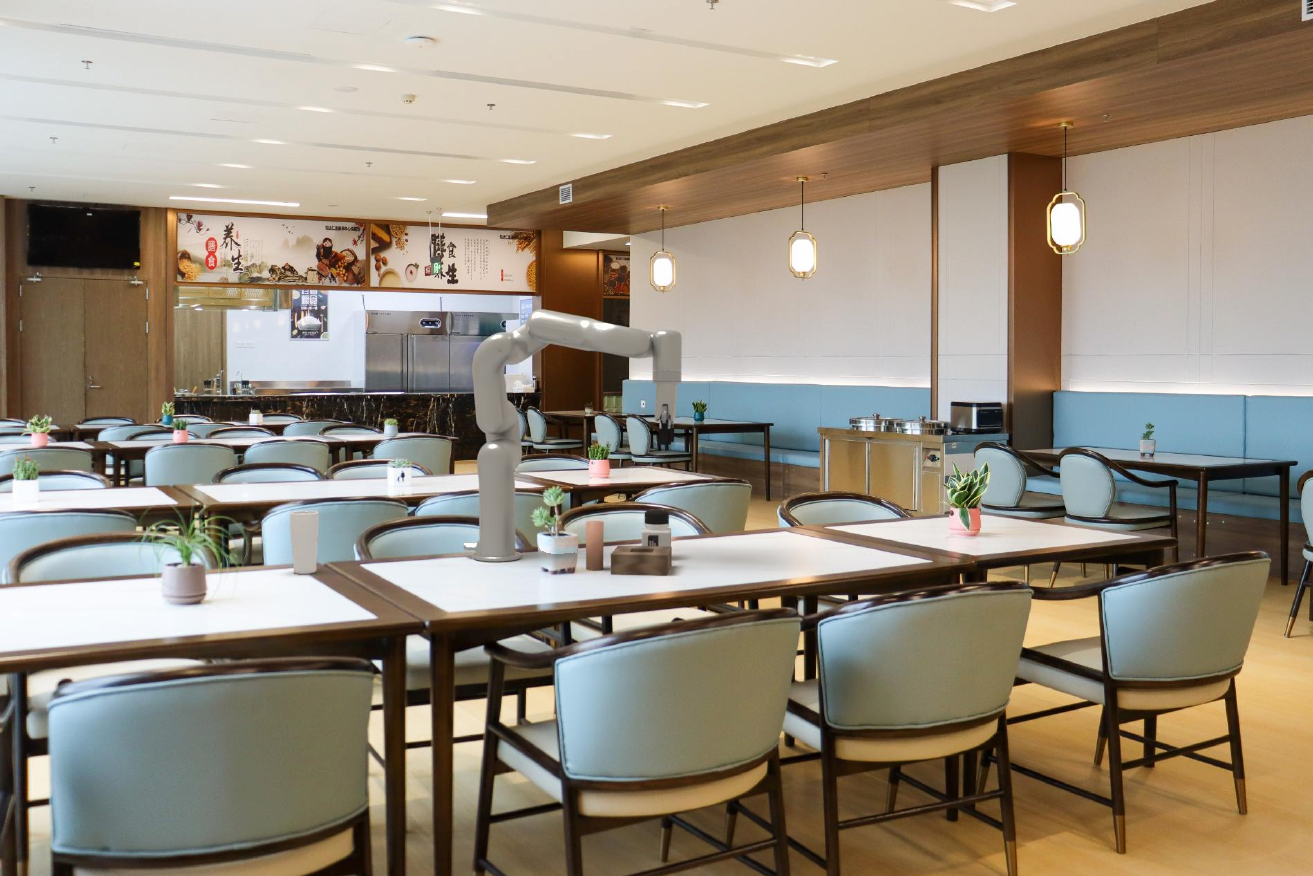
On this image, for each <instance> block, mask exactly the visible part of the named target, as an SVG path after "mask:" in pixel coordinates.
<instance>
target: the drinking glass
mask: <svg viewBox="0 0 1313 876" xmlns="http://www.w3.org/2000/svg"><path fill="white" fill-rule="evenodd" d="M319 518H320V517H319V511H317V510H296V511H291V512H290V516H289V527H290V529H289V531H290V540H291V541H290V542H291V549H292V557H293V558H292V559H293V560H292V563H293V572H294V573H295V574H297V575H310V574H314V573H316V572H317V559H318V547H319V546H318V543H319V532H320V530H319V529H320V519H319Z"/></svg>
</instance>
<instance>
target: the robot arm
mask: <svg viewBox="0 0 1313 876" xmlns="http://www.w3.org/2000/svg"><path fill="white" fill-rule="evenodd" d="M682 338H683V337H682V333H681V332H680V331H678V330H672V329H671V330H666V329H665V330H664V329H663V330H657V331H656V330H655V331H650V330H642V329H640V328H633V327H629V326H628V327H627V326H625V325H624V326H623V325H619V324H613V323H608V322H604V321H600V320H596V319H594V318H591V317H586V316H581V315H576V314H569V313H566V312H565V313H564V312H559V311H554V310H549V309H548V310H547V309H543V308H541V309H540V308H539V309H536V310H533V311H531V313H530V314H529V315H528V316H527V318H526V321H525V323H523V324H521V325H520V326H518V327H516V328H515V329H514V330H511V332H508V331H507V332H506V331H501V332H497V333H494V334H492V335H490V336H488V337H486V339H484V340H483V341H482V342H481V343H480V344H479V345H478V347H477V348H476V350H475V352H474V354H473V357H472V358H473V359H472V366H471V367H472V368H471V371H472V381H473V382H472V383H473V395H474V405H475V406H474V407H475V417H476V420H475V421H476V424H477V426H478V428H479V429H480V430H481V431H482V432H483V433H485V439H486V443H484V444H483V445H482V446H481V447H480V449H479V452H478V454H477V459H476V467H477V468H476V469H477V477H478V500H479V501H478V503H479V505H478V506H479V507H478V510H479V511H478V512H479V515H478V517H479V518H478V519H479V520H478V521H479V522H478V523H479V524H478V525H479V528H478V529H479V531H478V532H479V533H478V535H479V536H478V537H479V540H478V541H476V542H464V543H463V550H464V551H475V553H473V559H474V560H476V561H480V562H494V563H495V562H496V563H497V562H510V561H512V562H513V561H517V560H520V559H521V558H522V553H521V552H519V551H516V483H515V482H516V481H515V470H516V469H517V468H518V467H519V466H520V464H521V462H522V457H523V449H522V438H521V430H520V420H519V414H518V411H517V410H518V409H516V407H515V405H514V403H512V402H511V401H510V400H508V395H507V394H508V393H507V383H506V377H505V367H506V366H508V365H509V366H514V365H518V364H520V363H523V362H524V361H526V360H527V359H528V358H530V357H532V356H533V355H535V354H536V353H538V352H540V351H541V350H543V349H544V348H546V347H548V345H550V344H551V345H557V346H561V347H567V348H572V349H577V350H582V351H587V352H591V351H592V352H600V353H606V354H612V355H616V356H621V357H626V358H630V359H646V358H652V384H655V400H654V402H655V403H654V406H655V407H654V421H655V422H659V428H658V445H660V446H670V445H672V443H674V442H675V427H674V421H675V420H676V417H677V416H676V415H677V402H678V401H677V397H678V393H677V391H678V384H682V358H683V357H682V345H683V344H682V343H683V342H682V340H683V339H682Z"/></svg>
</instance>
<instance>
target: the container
mask: <svg viewBox="0 0 1313 876" xmlns="http://www.w3.org/2000/svg"><path fill="white" fill-rule="evenodd" d="M641 546H660V547H672V528H671V527H670V512H669V511H667V510H666V509H658V508H657V509H648V510H646V511H644V527H643V528H642V531H641Z"/></svg>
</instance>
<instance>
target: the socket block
mask: <svg viewBox="0 0 1313 876" xmlns="http://www.w3.org/2000/svg"><path fill="white" fill-rule="evenodd" d="M672 547H673V546H671V547H660V546H642V545H617V546H616V547H615V548H614V550H613V551H612V553H610V575H616V576H617V575H621V576H624V575H625V576H626V575H627V576H629V575H630V576H668V574H669V573H670V570H671V568H672V564H673V563H672V560H673V558H672V557H673V555H672V554H673V553H672V551H673V549H672Z"/></svg>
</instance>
